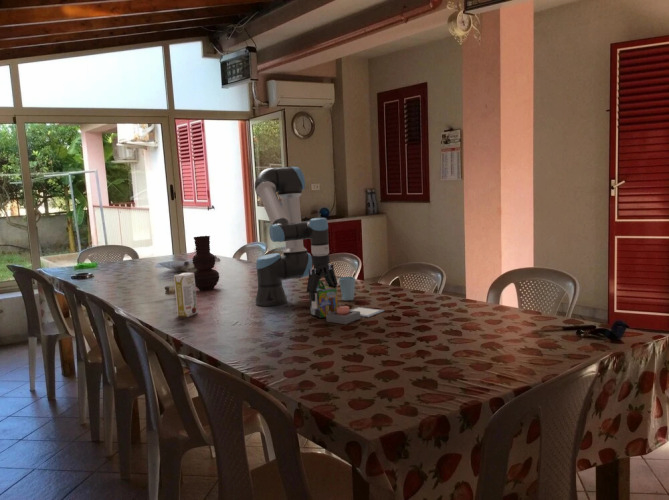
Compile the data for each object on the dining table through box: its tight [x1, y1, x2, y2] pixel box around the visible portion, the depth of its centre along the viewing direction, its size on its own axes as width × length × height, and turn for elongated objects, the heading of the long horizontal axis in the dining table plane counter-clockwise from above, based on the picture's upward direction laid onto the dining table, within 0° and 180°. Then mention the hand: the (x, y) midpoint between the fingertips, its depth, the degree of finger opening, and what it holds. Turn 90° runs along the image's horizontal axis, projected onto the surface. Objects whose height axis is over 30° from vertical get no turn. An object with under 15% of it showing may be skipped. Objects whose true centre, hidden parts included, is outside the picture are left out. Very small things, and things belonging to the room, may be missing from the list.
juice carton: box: [173, 272, 198, 318], centre depth 261 cm, size 8×9×19 cm
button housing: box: [325, 309, 361, 325], centre depth 237 cm, size 10×10×3 cm
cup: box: [338, 276, 356, 302], centre depth 275 cm, size 8×8×10 cm
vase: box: [191, 235, 220, 292], centre depth 317 cm, size 15×15×30 cm
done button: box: [336, 305, 350, 315], centre depth 236 cm, size 5×5×3 cm
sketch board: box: [351, 306, 385, 318], centre depth 248 cm, size 14×12×1 cm
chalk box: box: [308, 280, 338, 319], centre depth 245 cm, size 9×9×15 cm
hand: (323, 305), depth 246 cm, fingers closed on chalk box, 10 cm apart
